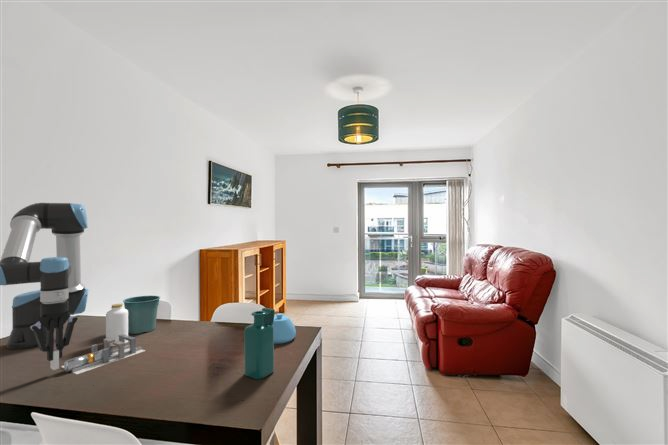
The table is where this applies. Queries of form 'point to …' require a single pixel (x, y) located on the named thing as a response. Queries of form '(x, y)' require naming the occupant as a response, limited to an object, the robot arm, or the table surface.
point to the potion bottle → (116, 322)
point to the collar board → (116, 354)
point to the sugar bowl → (283, 329)
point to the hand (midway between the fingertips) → (54, 368)
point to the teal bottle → (259, 345)
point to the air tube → (84, 360)
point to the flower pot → (141, 313)
